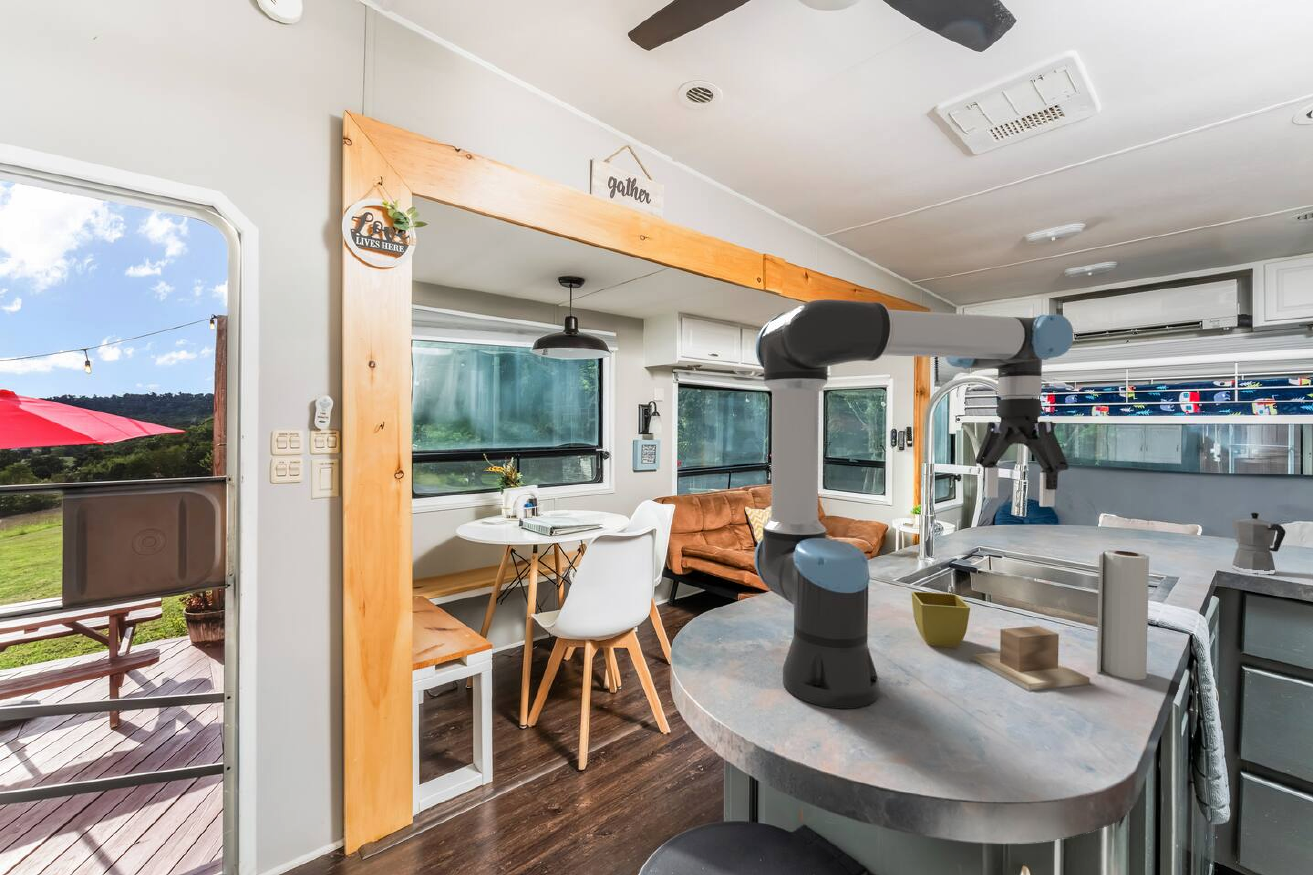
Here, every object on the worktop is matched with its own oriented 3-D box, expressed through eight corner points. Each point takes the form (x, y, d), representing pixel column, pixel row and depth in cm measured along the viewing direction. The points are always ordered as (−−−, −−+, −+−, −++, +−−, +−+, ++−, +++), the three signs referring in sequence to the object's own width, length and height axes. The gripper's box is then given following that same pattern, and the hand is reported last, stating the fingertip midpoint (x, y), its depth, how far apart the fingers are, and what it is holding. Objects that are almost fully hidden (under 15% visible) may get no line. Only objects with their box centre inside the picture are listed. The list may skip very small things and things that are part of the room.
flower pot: (970, 654, 106) (971, 607, 106) (921, 650, 108) (921, 604, 108) (955, 637, 115) (956, 593, 115) (910, 633, 117) (910, 591, 116)
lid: (1028, 689, 91) (1029, 647, 91) (973, 659, 103) (973, 621, 102) (1089, 683, 93) (1090, 641, 93) (1028, 654, 105) (1028, 617, 105)
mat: (1028, 694, 90) (1029, 691, 90) (968, 661, 103) (968, 658, 103) (1094, 687, 93) (1094, 684, 93) (1028, 655, 106) (1028, 653, 106)
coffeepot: (1217, 565, 178) (1218, 509, 178) (1249, 566, 177) (1250, 509, 177) (1265, 578, 163) (1267, 516, 162) (1300, 579, 162) (1302, 517, 162)
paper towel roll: (1142, 671, 99) (1144, 551, 99) (1150, 685, 94) (1153, 558, 93) (1091, 662, 103) (1093, 546, 102) (1096, 675, 97) (1099, 553, 97)
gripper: (1093, 395, 103) (1090, 510, 103) (987, 401, 127) (985, 494, 128) (1059, 394, 102) (1057, 511, 102) (958, 400, 126) (957, 494, 126)
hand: (1017, 501), depth 115 cm, fingers open, 13 cm apart
